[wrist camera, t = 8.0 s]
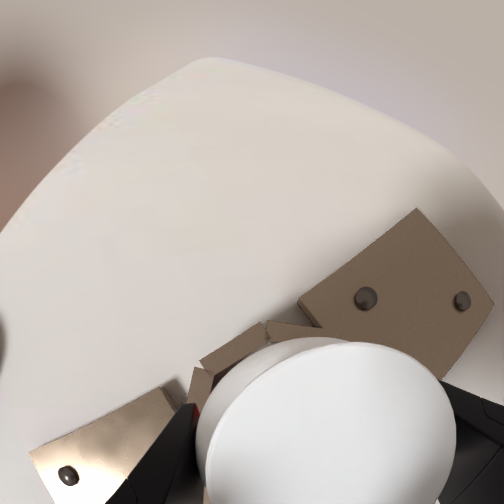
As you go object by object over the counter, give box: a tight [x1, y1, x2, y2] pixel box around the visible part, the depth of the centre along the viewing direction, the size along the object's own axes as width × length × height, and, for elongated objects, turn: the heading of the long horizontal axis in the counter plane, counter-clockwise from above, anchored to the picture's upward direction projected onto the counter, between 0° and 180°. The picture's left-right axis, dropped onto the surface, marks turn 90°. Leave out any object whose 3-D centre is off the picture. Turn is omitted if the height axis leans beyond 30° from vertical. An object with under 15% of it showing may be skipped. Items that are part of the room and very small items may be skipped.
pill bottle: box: [195, 337, 456, 504], centre depth 8 cm, size 6×6×11 cm
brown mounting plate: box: [28, 208, 494, 504], centre depth 13 cm, size 34×10×3 cm, turn 124°
